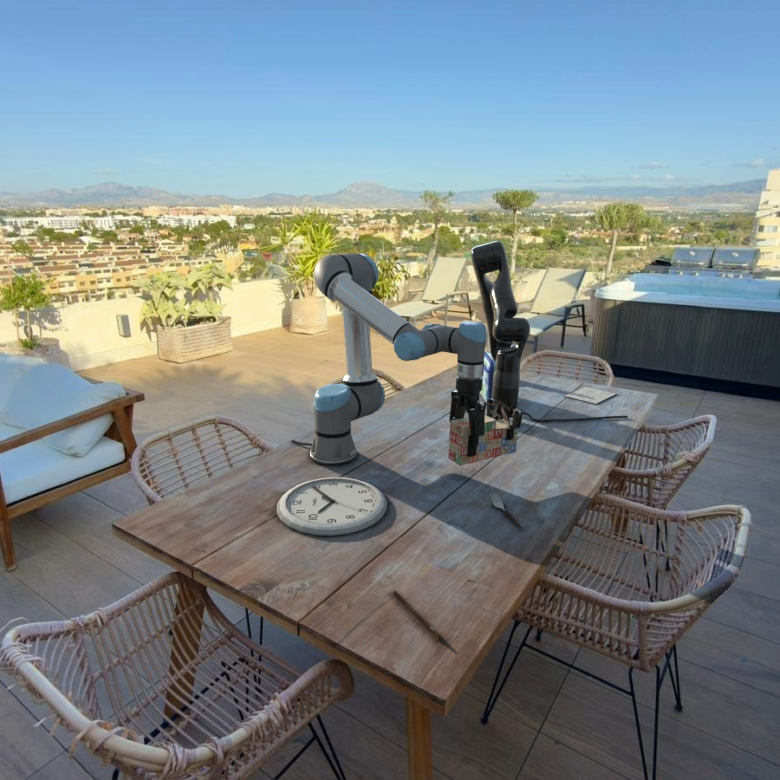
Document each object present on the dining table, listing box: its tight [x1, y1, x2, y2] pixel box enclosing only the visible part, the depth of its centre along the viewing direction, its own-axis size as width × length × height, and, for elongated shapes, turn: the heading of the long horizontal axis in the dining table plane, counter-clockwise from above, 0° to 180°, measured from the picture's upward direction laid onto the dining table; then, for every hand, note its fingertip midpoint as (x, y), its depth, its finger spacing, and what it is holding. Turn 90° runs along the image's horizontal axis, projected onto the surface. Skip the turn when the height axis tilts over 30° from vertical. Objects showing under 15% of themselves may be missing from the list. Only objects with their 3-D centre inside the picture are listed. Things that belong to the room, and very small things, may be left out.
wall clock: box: [276, 476, 388, 537], centre depth 142 cm, size 30×2×30 cm
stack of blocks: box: [448, 414, 519, 467], centre depth 158 cm, size 21×6×12 cm, turn 119°
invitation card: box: [564, 386, 616, 405], centre depth 242 cm, size 21×1×15 cm
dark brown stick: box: [392, 590, 441, 641], centre depth 102 cm, size 15×1×1 cm, turn 34°
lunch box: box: [479, 351, 496, 404], centre depth 230 cm, size 26×11×21 cm, turn 179°
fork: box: [489, 492, 523, 529], centre depth 139 cm, size 3×16×2 cm, turn 15°
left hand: (464, 451), depth 155 cm, fingers closed on stack of blocks, 6 cm apart
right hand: (501, 435), depth 161 cm, fingers closed on stack of blocks, 6 cm apart
